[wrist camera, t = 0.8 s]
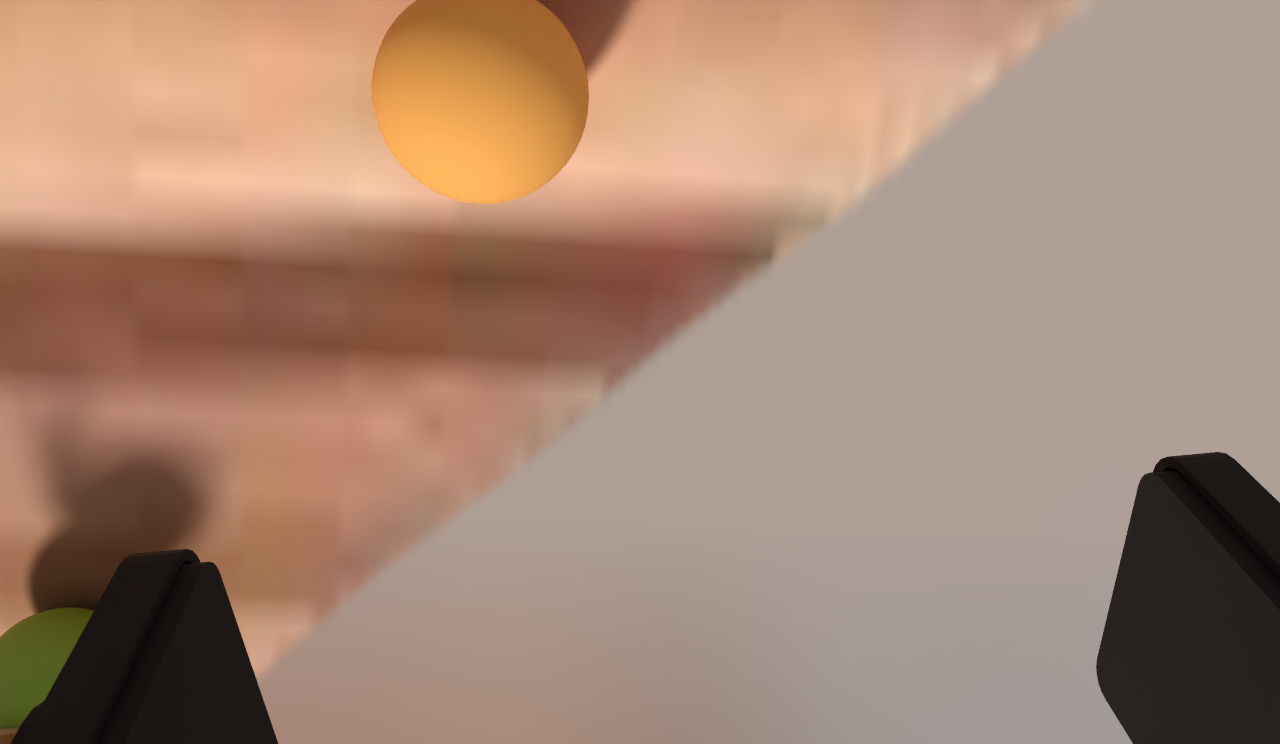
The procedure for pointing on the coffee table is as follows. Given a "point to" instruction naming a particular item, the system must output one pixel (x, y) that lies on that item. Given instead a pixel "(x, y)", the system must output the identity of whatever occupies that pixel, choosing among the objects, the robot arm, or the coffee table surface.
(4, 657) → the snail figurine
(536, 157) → the ball
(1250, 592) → the robot arm
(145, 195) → the coffee table surface
